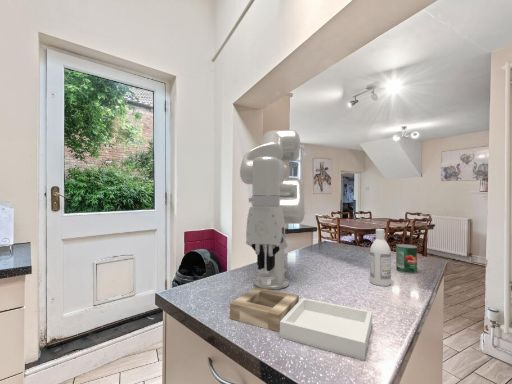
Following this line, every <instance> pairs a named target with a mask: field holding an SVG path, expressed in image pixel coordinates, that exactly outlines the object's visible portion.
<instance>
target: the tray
mask: <svg viewBox="0 0 512 384" xmlns="http://www.w3.org/2000/svg"><path fill="white" fill-rule="evenodd" d="M372 327H373V311H371V310H366V309H361V308H358V307H357V308H356V307H352V306H346V305H341V304H336V303H333V302H332V303H330V302H326V301H321V300H315V299H311V298H310V299H309V298H304V297H301V299H299V302H298V303H297V304H296V305H295V306H294V307H293V308H292V309H291V310H290V311H289V312H288V313H287V315H286V316H285V317H284V318H283V319H282V320H281V321H280V332H279V338H281V339H286V340H289V341H292V342H296V343H299V344H303V345H307V346H311V347H314V348H318V349H320V350H325V351H328V352H332V353H335V354H338V355H342V356H345V357H350V358H353V359H356V360H360V361H363V362H365V361H366V357H367V351H368V347H369V343H370V337H371V333H372Z"/></svg>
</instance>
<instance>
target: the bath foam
mask: <svg viewBox="0 0 512 384" xmlns="http://www.w3.org/2000/svg"><path fill="white" fill-rule="evenodd" d="M385 236H386V235H385V229H384V228H376V229H375V239H374V240H373V242H372V244H371V246H370V249H369V281H370V283H371V284H372V285H375V286H378V287H389V286H390V285H391V284H392V266H391V265H392V257H391V256H392V251H391V247H390V245H389V244H388V242H387V240H386V238H385Z"/></svg>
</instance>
